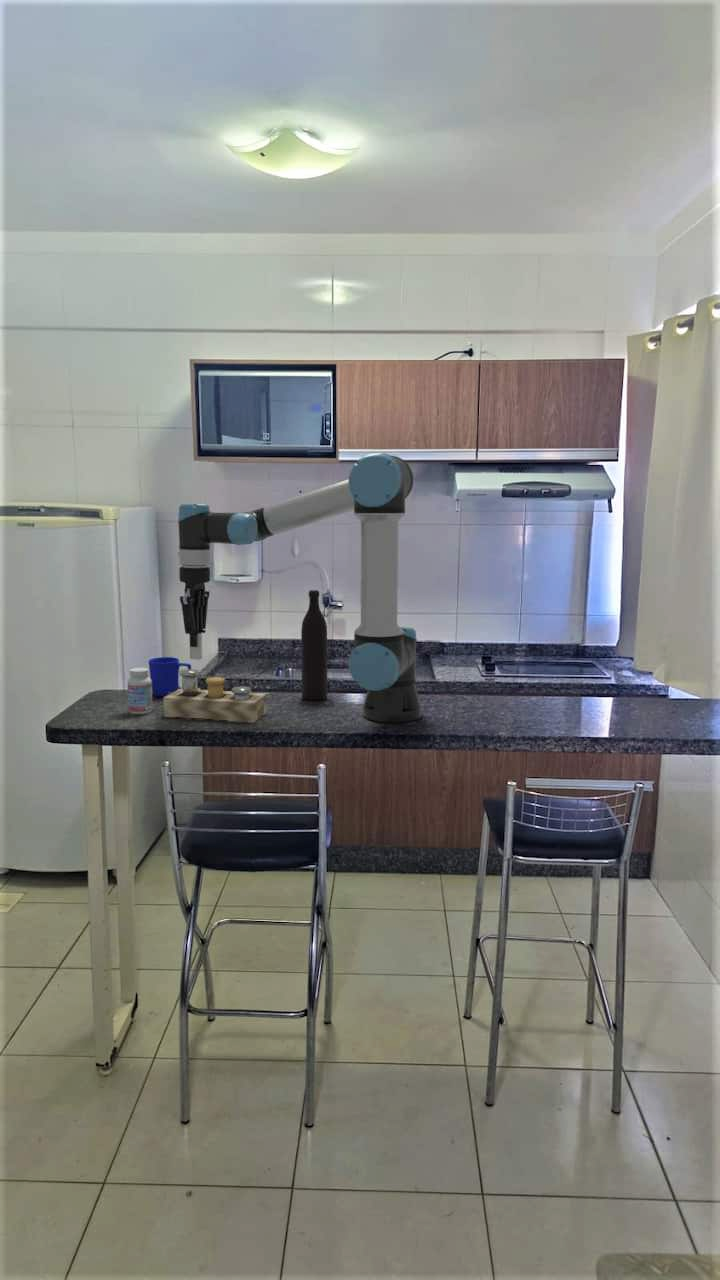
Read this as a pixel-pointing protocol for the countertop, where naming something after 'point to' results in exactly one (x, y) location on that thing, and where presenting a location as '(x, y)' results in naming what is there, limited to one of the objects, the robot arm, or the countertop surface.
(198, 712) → the wooden spice rack
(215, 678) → the tan cylinder
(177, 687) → the mug
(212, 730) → the countertop surface
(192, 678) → the salt shaker
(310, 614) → the wine bottle
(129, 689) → the pill bottle
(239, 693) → the glass spice jar
